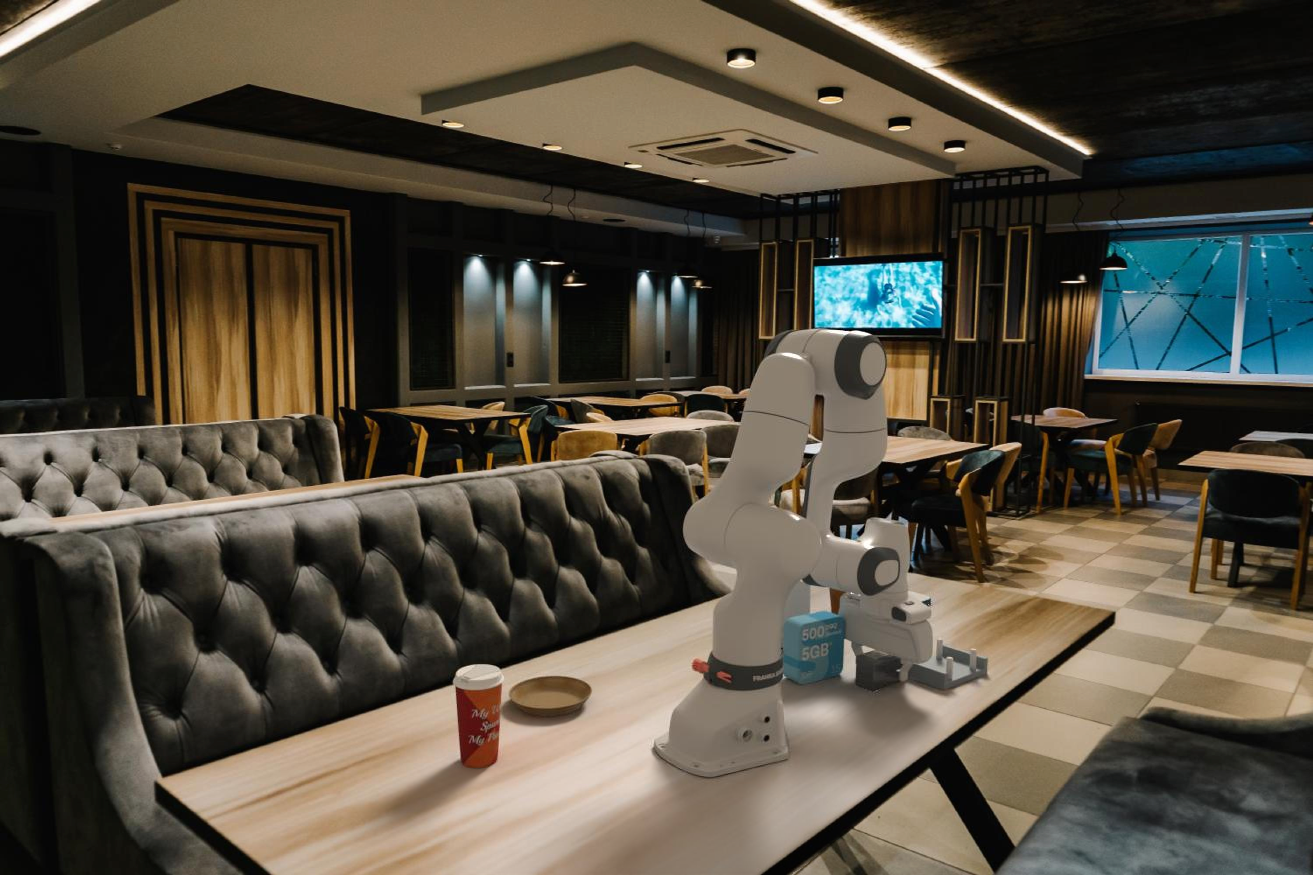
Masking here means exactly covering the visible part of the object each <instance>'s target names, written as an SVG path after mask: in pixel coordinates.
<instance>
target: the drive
mask: <svg viewBox="0 0 1313 875" xmlns="http://www.w3.org/2000/svg"><path fill="white" fill-rule="evenodd" d="M902 666H903V664H901V658H899V657H896V656H893V655H890V654H887V653H884V652H881V651H878V650H875V649H872V650H870V651H868V652H863V654H860V655H857V656H855V684H854V686H855V685H856V686H855V687H857V686H858V687H857V688H860V689H862V688H863V690H865V689H866V691H868V692H870V691H871V693H874V692H877V691H880V690H883V689H885V687H886V688H888V687H891V686H893V685H896V683H897V684H898V683H901V682H903V681H900V680H898V679H896V678H895V676H896V670H899V669H901V668H902ZM876 690H877V691H876Z"/></svg>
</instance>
